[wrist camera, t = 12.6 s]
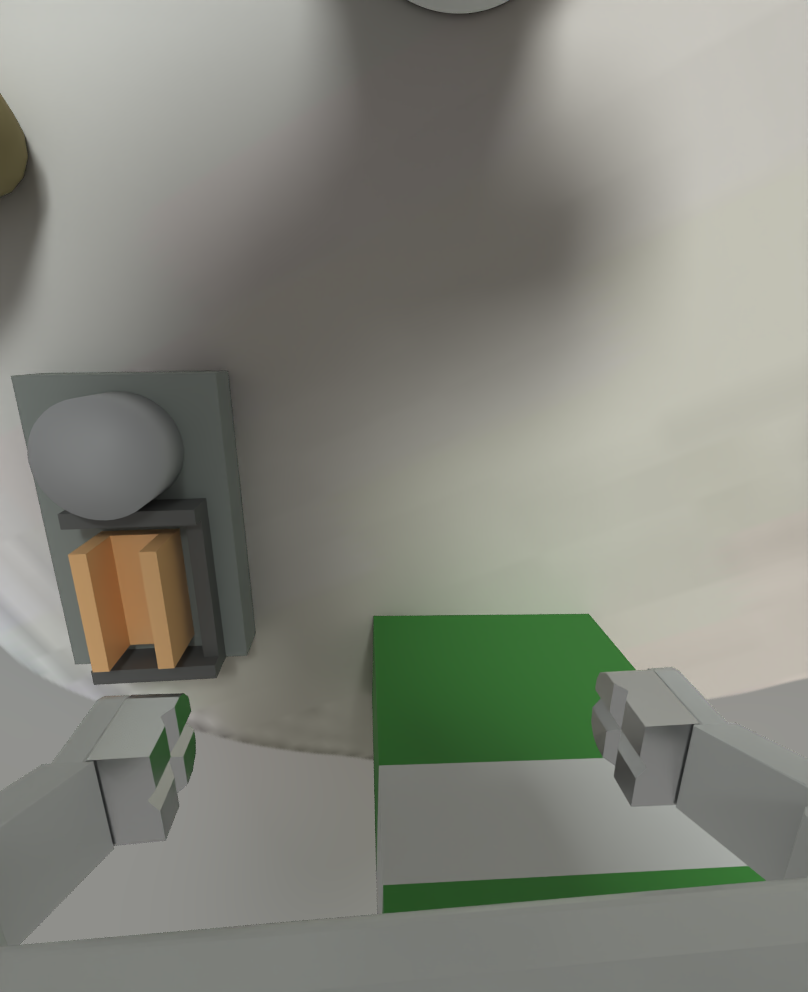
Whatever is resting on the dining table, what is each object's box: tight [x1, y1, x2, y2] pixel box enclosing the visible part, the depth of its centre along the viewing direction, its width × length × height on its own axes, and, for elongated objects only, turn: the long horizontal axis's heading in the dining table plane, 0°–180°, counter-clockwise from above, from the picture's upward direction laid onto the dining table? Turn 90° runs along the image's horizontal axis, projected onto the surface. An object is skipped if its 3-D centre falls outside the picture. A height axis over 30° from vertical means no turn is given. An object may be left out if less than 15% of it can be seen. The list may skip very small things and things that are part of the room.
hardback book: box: [372, 614, 766, 914], centre depth 30 cm, size 18×7×24 cm, turn 88°
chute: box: [68, 528, 194, 672], centre depth 33 cm, size 8×5×4 cm, turn 0°
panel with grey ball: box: [11, 371, 255, 685], centre depth 33 cm, size 20×12×7 cm, turn 0°
